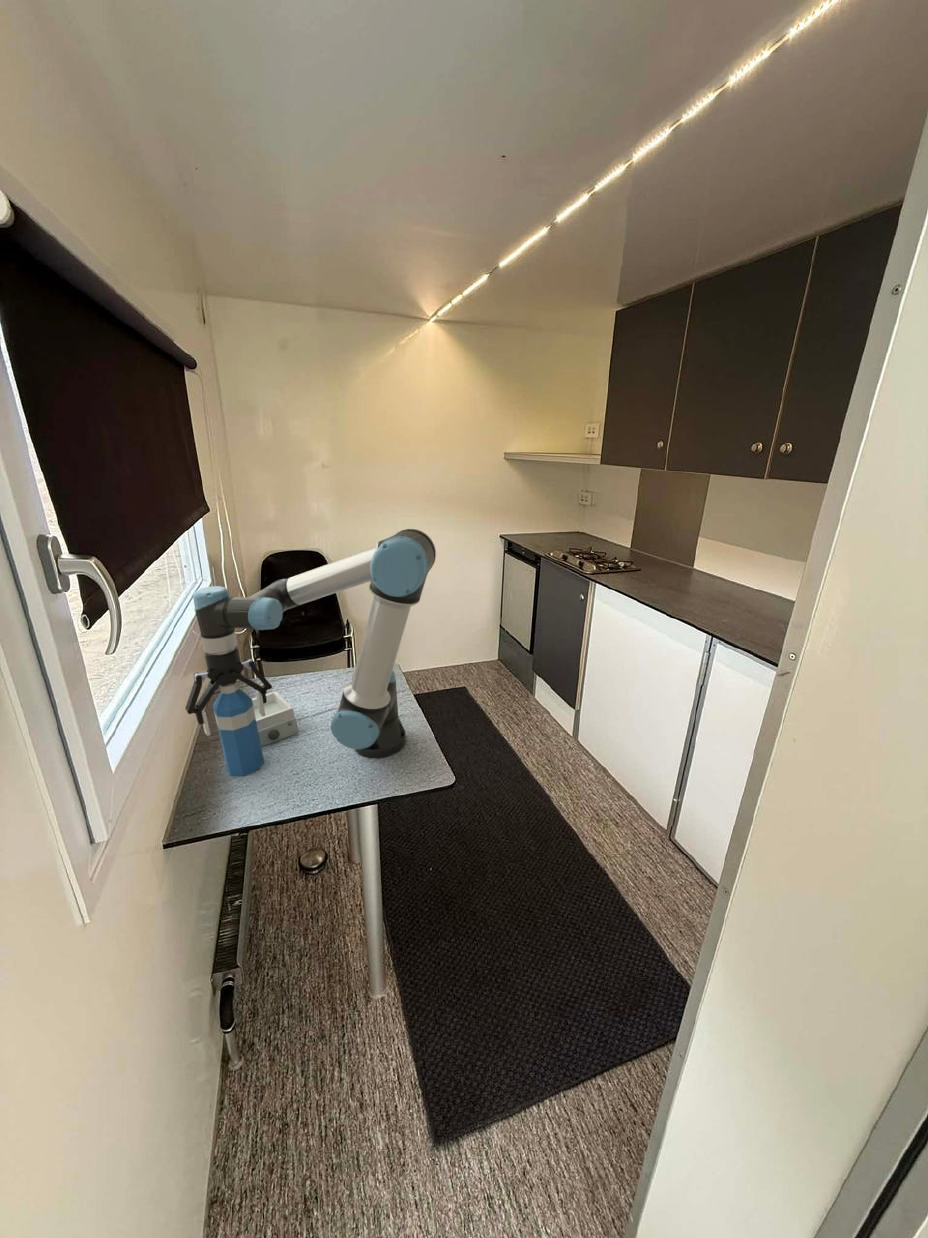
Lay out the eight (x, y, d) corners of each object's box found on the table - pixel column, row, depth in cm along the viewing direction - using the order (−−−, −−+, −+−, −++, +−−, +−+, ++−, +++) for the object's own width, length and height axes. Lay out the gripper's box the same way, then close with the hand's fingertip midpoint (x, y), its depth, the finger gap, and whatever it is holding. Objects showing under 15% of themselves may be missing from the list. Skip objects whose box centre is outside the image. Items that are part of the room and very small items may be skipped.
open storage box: (298, 733, 143) (295, 710, 140) (250, 752, 135) (245, 728, 132) (278, 711, 155) (274, 690, 152) (233, 727, 147) (228, 705, 144)
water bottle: (223, 779, 124) (204, 694, 115) (229, 758, 132) (211, 678, 124) (262, 772, 126) (245, 689, 118) (265, 752, 134) (250, 672, 126)
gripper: (267, 632, 127) (278, 702, 135) (160, 658, 112) (179, 735, 120) (277, 640, 122) (288, 712, 129) (166, 668, 107) (185, 748, 114)
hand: (235, 723), depth 125 cm, fingers open, 13 cm apart
